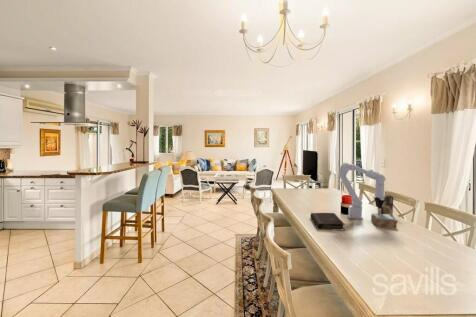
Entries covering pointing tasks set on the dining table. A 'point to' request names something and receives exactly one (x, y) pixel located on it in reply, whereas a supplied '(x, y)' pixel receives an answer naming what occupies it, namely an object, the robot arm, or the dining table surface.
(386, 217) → the cover plate
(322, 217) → the diary
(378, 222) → the wooden box
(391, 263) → the dining table surface
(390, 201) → the coffee box
